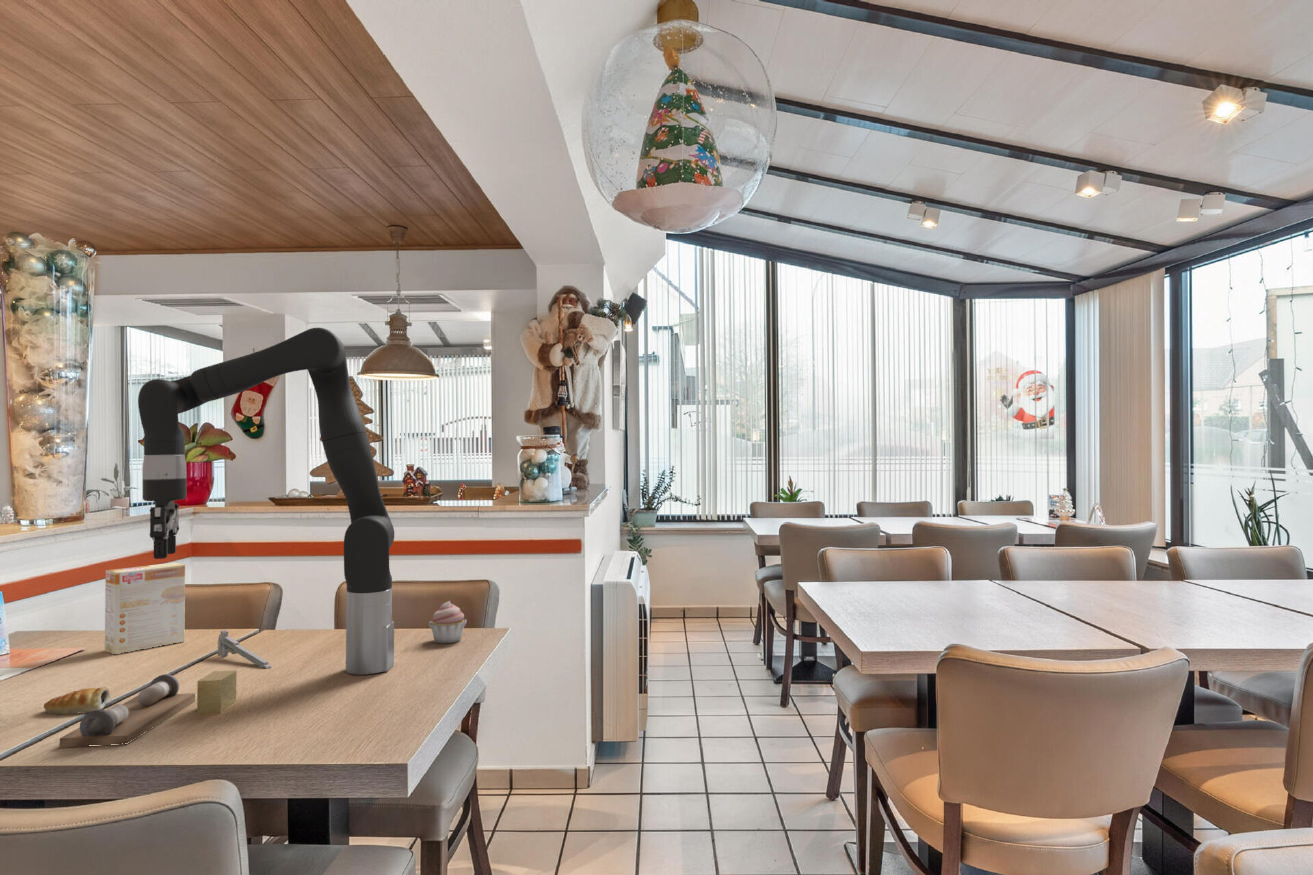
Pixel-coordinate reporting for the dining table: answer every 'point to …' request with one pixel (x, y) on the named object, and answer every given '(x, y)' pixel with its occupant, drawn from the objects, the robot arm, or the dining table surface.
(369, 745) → the dining table surface
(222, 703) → the coupler
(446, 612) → the cupcake
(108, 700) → the pastry
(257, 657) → the caliper
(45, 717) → the dining table surface
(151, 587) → the coffeecake box
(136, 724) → the shaft mount
